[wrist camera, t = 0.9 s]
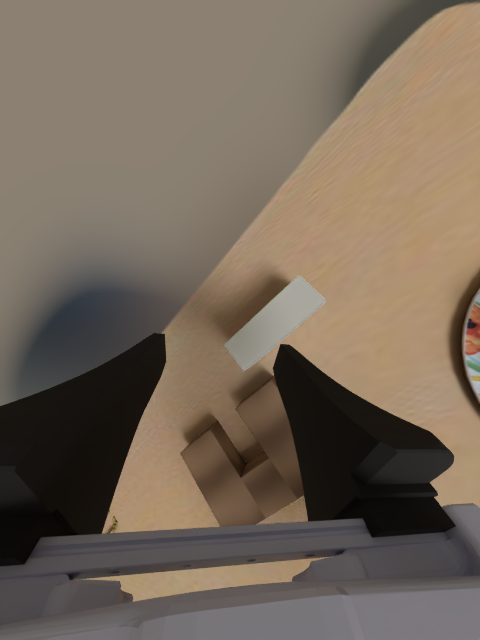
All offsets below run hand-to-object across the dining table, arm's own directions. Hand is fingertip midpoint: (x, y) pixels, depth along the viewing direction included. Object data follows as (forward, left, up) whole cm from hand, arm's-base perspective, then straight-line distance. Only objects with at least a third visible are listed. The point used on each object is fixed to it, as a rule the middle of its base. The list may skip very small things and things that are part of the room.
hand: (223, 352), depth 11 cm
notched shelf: (-10, +11, -15) cm, 22 cm away
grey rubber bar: (+1, -3, -16) cm, 16 cm away
